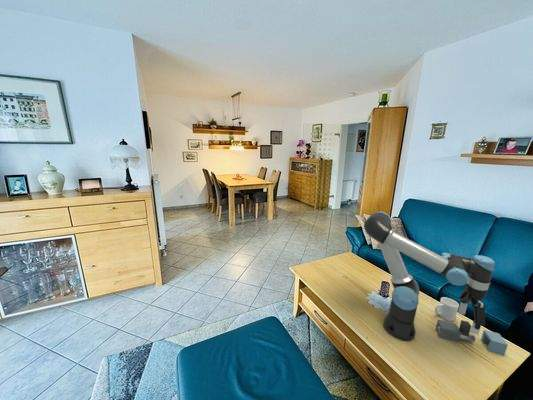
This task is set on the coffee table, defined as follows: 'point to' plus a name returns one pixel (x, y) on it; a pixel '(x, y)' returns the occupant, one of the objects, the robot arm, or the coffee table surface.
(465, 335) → the grey piece
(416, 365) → the coffee table surface
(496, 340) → the socket
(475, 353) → the coffee table surface
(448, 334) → the grey metal block
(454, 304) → the cup
